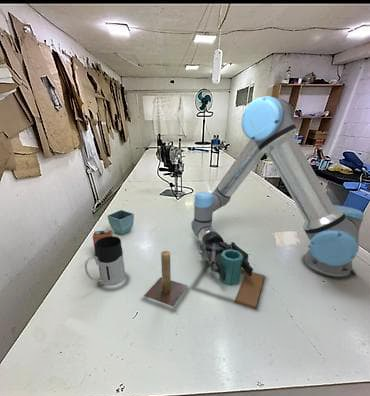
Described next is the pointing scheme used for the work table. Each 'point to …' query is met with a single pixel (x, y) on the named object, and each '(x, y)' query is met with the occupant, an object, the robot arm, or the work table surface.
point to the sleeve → (231, 266)
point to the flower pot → (121, 221)
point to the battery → (100, 236)
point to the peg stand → (166, 284)
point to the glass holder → (109, 261)
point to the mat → (250, 290)
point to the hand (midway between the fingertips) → (238, 274)
